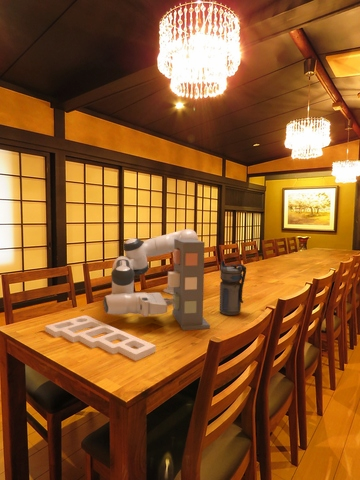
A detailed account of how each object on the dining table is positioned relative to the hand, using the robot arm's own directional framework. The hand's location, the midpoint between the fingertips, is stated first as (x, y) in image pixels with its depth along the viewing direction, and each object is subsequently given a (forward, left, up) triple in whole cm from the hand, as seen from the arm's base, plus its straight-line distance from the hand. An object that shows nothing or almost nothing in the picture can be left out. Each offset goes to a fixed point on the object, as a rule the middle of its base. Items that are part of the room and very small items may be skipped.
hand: (173, 301), depth 131 cm
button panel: (+5, +6, -9) cm, 12 cm away
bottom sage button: (+2, +2, -3) cm, 4 cm away
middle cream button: (0, 0, +7) cm, 7 cm away
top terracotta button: (+2, +2, +17) cm, 17 cm away
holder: (-9, -34, -10) cm, 37 cm away
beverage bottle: (+15, +27, -9) cm, 32 cm away
